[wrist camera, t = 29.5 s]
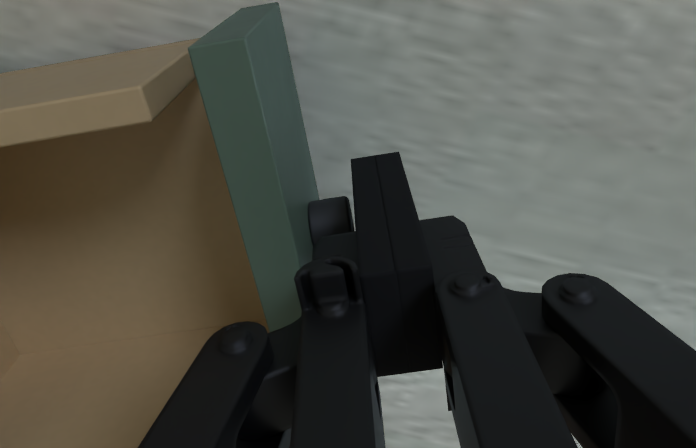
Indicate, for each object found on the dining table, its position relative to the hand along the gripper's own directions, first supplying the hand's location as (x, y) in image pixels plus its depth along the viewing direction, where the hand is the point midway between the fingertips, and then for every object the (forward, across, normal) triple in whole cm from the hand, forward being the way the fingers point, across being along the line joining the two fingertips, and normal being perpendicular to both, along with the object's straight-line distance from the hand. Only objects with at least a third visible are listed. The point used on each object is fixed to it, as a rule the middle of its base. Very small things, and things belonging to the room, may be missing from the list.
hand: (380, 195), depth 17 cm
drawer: (+2, -8, 0) cm, 9 cm away
